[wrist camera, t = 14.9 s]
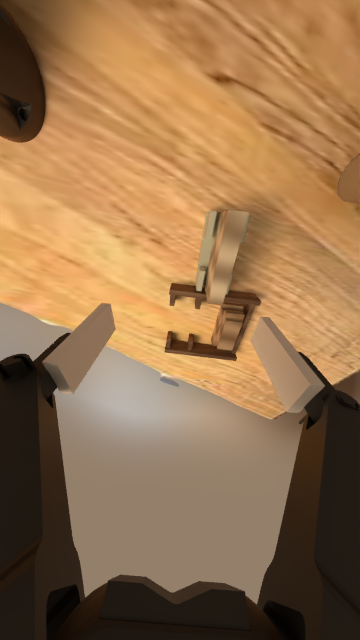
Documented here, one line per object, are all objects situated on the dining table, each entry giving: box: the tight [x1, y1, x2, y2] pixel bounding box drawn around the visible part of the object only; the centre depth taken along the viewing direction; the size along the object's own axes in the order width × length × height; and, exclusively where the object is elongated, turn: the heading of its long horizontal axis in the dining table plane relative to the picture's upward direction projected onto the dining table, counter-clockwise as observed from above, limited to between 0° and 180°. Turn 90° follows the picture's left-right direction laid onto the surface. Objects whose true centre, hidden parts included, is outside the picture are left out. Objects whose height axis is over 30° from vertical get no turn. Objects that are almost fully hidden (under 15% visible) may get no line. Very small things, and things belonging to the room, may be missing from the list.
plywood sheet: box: [204, 210, 249, 305], centre depth 33 cm, size 16×3×11 cm, turn 174°
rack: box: [165, 283, 261, 361], centre depth 46 cm, size 21×23×6 cm
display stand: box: [195, 211, 250, 294], centre depth 36 cm, size 16×8×6 cm, turn 174°
